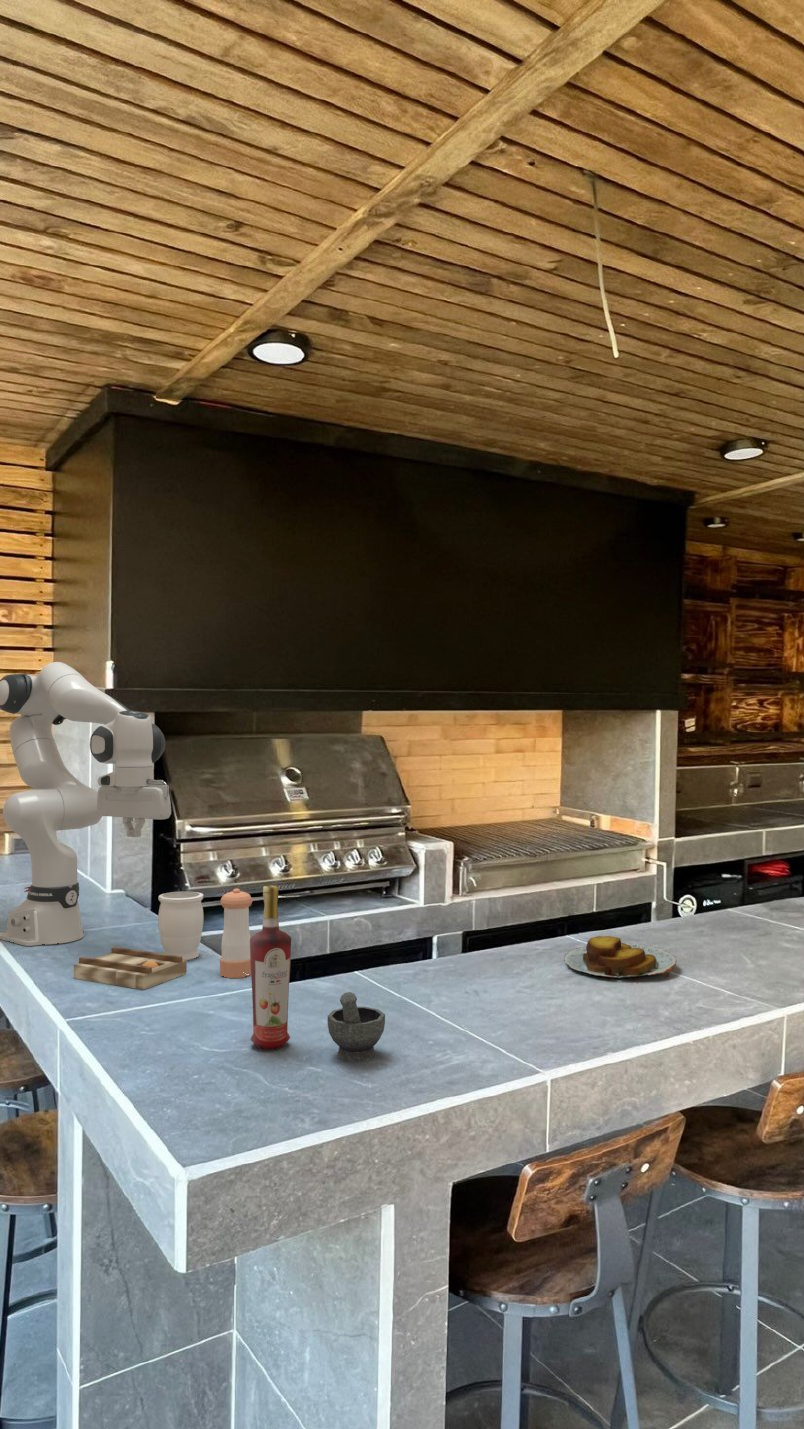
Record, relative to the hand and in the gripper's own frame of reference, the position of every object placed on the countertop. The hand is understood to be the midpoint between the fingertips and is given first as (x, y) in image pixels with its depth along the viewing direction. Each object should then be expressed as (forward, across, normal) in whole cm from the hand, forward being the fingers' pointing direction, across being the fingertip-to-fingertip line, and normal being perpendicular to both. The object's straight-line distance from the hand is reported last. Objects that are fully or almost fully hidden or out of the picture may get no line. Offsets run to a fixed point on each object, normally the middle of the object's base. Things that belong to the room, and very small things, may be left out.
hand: (133, 836), depth 226 cm
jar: (+29, -9, -6) cm, 31 cm away
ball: (+27, -16, +12) cm, 33 cm away
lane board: (+29, -10, +12) cm, 33 cm away
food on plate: (+30, -106, -44) cm, 119 cm away
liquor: (+29, -63, +35) cm, 78 cm away
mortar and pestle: (+29, -79, +33) cm, 90 cm away
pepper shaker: (+29, -30, 0) cm, 42 cm away
